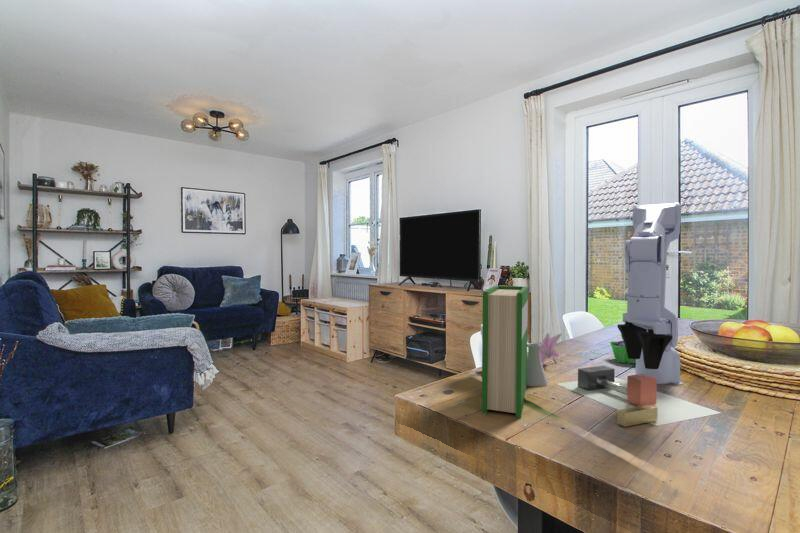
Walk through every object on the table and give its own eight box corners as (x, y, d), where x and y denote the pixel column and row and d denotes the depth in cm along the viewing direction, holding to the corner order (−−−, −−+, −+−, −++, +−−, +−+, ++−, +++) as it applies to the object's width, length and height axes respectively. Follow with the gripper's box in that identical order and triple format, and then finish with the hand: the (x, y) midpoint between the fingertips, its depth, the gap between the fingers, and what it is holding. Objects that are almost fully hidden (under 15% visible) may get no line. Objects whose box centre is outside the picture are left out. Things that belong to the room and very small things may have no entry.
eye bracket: (603, 383, 95) (603, 365, 95) (614, 387, 92) (614, 369, 92) (577, 386, 92) (578, 368, 92) (587, 390, 90) (588, 372, 90)
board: (612, 380, 101) (612, 376, 101) (721, 418, 77) (721, 412, 77) (556, 388, 95) (556, 383, 95) (656, 431, 71) (656, 425, 71)
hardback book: (520, 418, 77) (522, 293, 76) (481, 413, 79) (482, 291, 79) (526, 390, 93) (527, 286, 93) (494, 386, 96) (495, 285, 95)
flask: (552, 392, 92) (552, 348, 92) (519, 390, 93) (519, 347, 93) (547, 382, 99) (547, 342, 99) (516, 380, 100) (517, 340, 100)
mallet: (591, 380, 96) (592, 358, 96) (656, 404, 81) (656, 377, 81) (577, 382, 95) (577, 360, 95) (640, 406, 79) (640, 380, 79)
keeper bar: (649, 417, 74) (649, 404, 74) (657, 420, 73) (657, 407, 73) (617, 423, 72) (617, 410, 72) (624, 426, 70) (624, 413, 70)
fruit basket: (614, 363, 117) (615, 324, 117) (608, 356, 125) (609, 320, 125) (659, 366, 114) (660, 327, 113) (650, 359, 122) (650, 322, 122)
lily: (530, 363, 121) (518, 336, 119) (569, 351, 117) (557, 323, 115) (535, 387, 110) (521, 359, 108) (579, 375, 106) (566, 345, 104)
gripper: (686, 300, 73) (684, 374, 74) (647, 293, 88) (646, 355, 88) (644, 299, 74) (643, 373, 75) (613, 292, 89) (612, 354, 89)
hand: (642, 363), depth 81 cm, fingers open, 7 cm apart
